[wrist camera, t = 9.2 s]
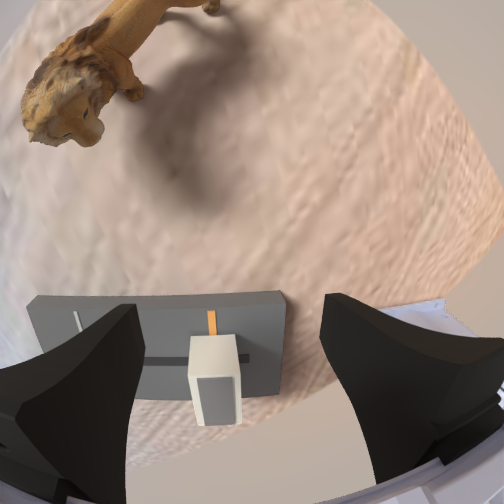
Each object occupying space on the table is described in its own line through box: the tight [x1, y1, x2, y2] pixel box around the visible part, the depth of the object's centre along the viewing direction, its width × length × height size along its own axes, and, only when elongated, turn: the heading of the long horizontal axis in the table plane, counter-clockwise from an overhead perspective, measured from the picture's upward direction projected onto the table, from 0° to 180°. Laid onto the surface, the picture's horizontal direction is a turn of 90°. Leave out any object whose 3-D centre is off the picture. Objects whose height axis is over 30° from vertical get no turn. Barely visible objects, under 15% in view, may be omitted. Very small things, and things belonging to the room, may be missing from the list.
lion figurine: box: [20, 0, 220, 147], centre depth 10 cm, size 15×5×9 cm, turn 152°
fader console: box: [26, 290, 286, 400], centre depth 20 cm, size 20×9×2 cm, turn 90°
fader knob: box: [188, 334, 242, 426], centre depth 18 cm, size 3×5×4 cm, turn 0°
